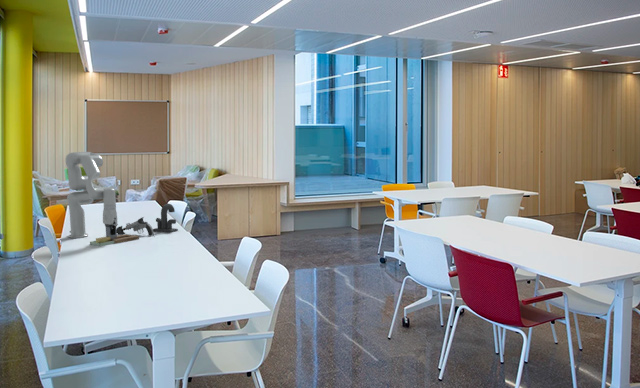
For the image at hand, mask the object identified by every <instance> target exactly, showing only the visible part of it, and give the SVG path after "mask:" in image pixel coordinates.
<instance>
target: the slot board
mask: <svg viewBox="0 0 640 388" xmlns="http://www.w3.org/2000/svg"><path fill="white" fill-rule="evenodd" d="M136 240H137V241H138V240H140V236H139V235H134V234H127V233H125V234H123V235H122V234H120V235H117V239H113V240H111V241H115V243H114V244H120V243H126V242H131V241H136Z"/></svg>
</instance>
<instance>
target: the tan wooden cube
mask: <svg viewBox="0 0 640 388" xmlns="http://www.w3.org/2000/svg"><path fill="white" fill-rule="evenodd" d="M102 237H103V236H102ZM102 237H101V236H100V237H96V238H95V241H96V243H104V242H105V238H102Z"/></svg>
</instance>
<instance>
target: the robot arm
mask: <svg viewBox="0 0 640 388" xmlns="http://www.w3.org/2000/svg"><path fill="white" fill-rule="evenodd" d="M103 163H104V159H103V158H102V156H101V155H100V154H99V153H98V154H97V153H95V152H92V151H74V152H69V153H68V154H67V155H66V157H65V164H66V165H65V166H66V168H67V175H68V176H67V177H68V187H69V189H70V190H72V191H74V192H70V193H69V194H68V195H67V196H66V201H67V205H68V209H69V221H70V223H69V224H70V230H68V231H69V233H70V234H69V235H68V238H71V239H79V238H87V237H88V236H89V234H88V233H86V216H85V209H84V208H83V207H82V206H84V205H90V204H92V203H93V202H94V200H103V210H102V224H104V225H105V224H108V225H111V235H115V234H116V229H117V226H118V225H119V224H118V212H117V204H116V203H117V199H116V189H114V188H110V187H108V186H104V187H103V186H102V187H94V182H93V181H95V180H97V179H98V178H99V177H101V171H100V169H99V168H100V167H102V166H103ZM79 165H81V166H82V168H83V170H84V172H85V175H82V169H81V167H80V166H79ZM81 190H83V191H81ZM113 223H114V224H113Z"/></svg>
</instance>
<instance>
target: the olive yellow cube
mask: <svg viewBox="0 0 640 388" xmlns="http://www.w3.org/2000/svg"><path fill="white" fill-rule="evenodd" d="M102 238H105V242H110V241H111V240H110V237H108V236H106V235H105V236H102Z"/></svg>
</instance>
